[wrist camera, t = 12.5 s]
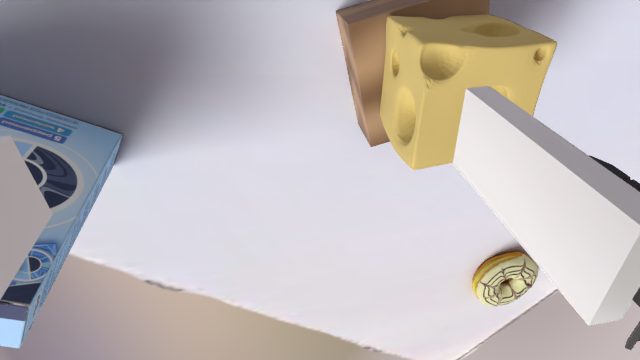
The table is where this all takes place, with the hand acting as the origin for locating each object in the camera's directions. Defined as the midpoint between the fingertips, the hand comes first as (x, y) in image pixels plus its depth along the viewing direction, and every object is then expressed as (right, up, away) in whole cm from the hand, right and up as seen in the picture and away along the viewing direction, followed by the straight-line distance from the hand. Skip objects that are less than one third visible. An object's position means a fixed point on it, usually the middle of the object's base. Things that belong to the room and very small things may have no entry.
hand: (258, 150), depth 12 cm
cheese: (+13, +10, +27) cm, 31 cm away
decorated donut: (+32, -16, +56) cm, 66 cm away
